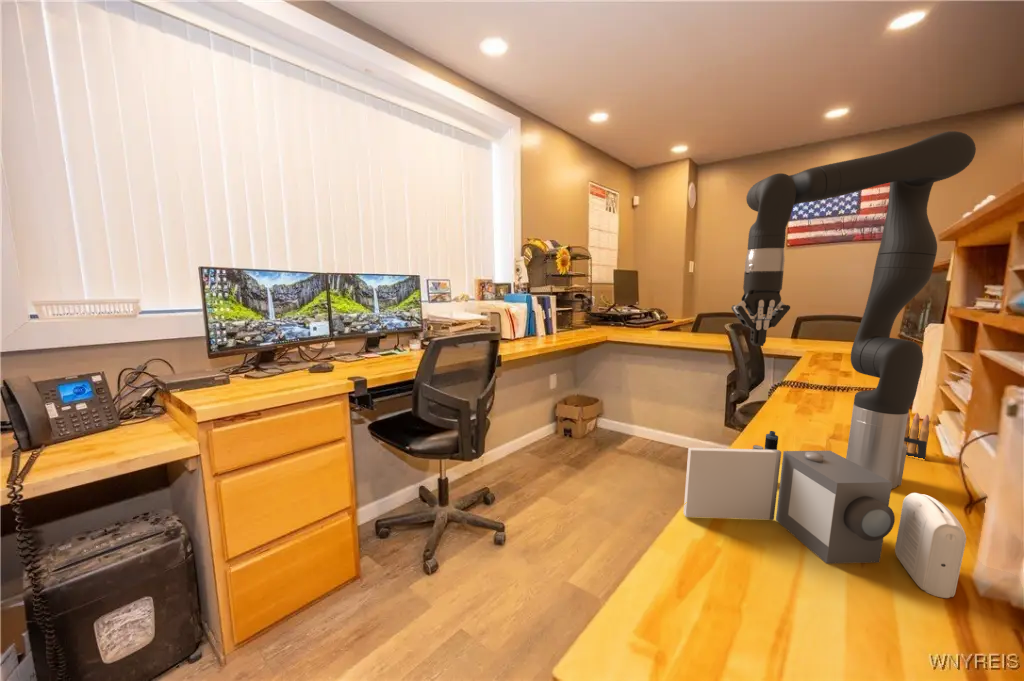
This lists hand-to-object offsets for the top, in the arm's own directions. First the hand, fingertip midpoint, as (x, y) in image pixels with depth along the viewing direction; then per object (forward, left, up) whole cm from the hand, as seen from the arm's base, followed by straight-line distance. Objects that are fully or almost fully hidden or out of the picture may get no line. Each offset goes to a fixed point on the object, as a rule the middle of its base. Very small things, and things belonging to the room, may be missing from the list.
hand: (757, 345), depth 94 cm
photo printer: (-6, +36, -31) cm, 48 cm away
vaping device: (0, +6, -31) cm, 31 cm away
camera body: (+2, +28, -31) cm, 41 cm away
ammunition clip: (-47, -8, -31) cm, 57 cm away
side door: (+16, +20, -30) cm, 39 cm away
